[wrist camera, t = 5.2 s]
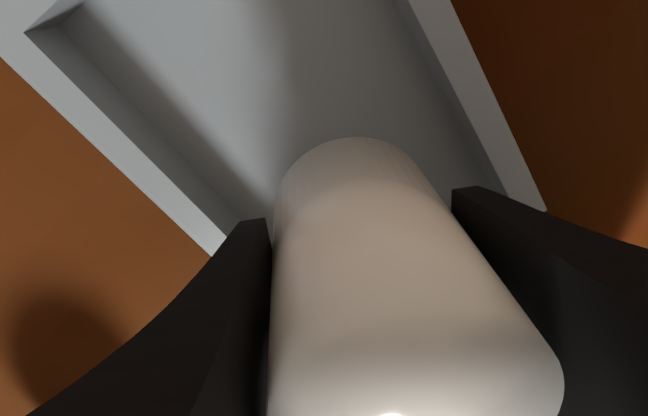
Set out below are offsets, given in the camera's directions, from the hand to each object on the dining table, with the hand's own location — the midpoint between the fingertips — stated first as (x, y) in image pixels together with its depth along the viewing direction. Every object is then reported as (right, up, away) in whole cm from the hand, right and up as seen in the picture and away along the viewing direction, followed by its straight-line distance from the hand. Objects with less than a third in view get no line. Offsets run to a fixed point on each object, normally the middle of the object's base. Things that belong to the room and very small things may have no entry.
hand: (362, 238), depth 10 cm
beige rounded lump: (0, +1, +2) cm, 2 cm away
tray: (-2, +4, +4) cm, 6 cm away
